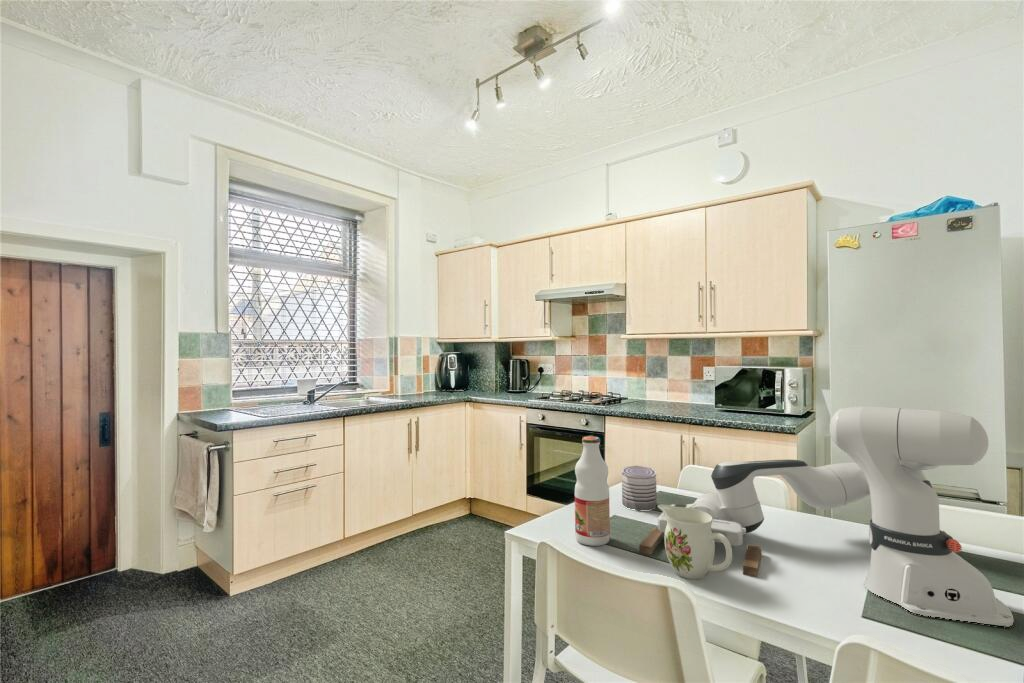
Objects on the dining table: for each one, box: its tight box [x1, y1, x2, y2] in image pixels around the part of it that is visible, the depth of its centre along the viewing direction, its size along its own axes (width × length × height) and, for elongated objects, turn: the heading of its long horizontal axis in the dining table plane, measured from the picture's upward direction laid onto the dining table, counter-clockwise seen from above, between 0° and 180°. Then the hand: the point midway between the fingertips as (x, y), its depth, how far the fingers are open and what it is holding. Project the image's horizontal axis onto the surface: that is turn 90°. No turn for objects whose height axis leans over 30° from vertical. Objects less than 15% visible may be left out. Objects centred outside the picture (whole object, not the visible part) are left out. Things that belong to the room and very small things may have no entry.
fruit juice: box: [574, 435, 611, 547], centre depth 130 cm, size 9×9×28 cm
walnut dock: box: [638, 527, 762, 578], centre depth 121 cm, size 27×14×2 cm, turn 59°
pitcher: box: [657, 503, 733, 580], centre depth 110 cm, size 11×18×14 cm, turn 40°
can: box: [620, 465, 658, 510], centre depth 159 cm, size 11×11×12 cm
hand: (694, 538), depth 115 cm, fingers closed, pressing on pitcher
